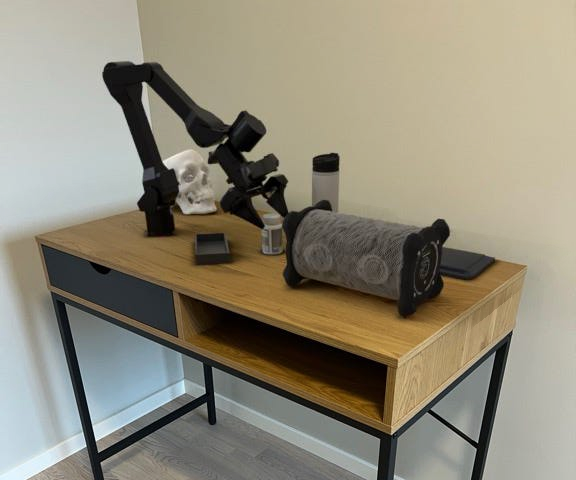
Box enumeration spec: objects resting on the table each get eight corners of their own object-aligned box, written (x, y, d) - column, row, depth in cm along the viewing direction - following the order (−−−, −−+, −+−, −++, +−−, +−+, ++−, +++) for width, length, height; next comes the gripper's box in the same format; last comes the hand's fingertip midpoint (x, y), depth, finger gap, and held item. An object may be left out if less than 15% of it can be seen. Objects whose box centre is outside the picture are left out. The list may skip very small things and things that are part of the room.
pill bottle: (283, 248, 140) (283, 212, 135) (281, 255, 136) (281, 218, 131) (263, 248, 140) (262, 212, 136) (261, 254, 136) (259, 218, 132)
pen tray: (230, 262, 131) (229, 252, 130) (196, 264, 130) (195, 254, 129) (226, 241, 145) (225, 232, 144) (195, 243, 144) (194, 233, 143)
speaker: (408, 323, 103) (417, 238, 95) (279, 288, 118) (277, 212, 110) (444, 296, 113) (455, 217, 106) (321, 267, 128) (322, 196, 121)
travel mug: (343, 241, 144) (346, 154, 134) (325, 247, 140) (327, 158, 130) (323, 236, 148) (325, 151, 138) (306, 242, 144) (306, 155, 134)
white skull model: (201, 213, 160) (172, 144, 156) (161, 236, 174) (134, 173, 170) (235, 203, 169) (209, 138, 165) (195, 226, 183) (170, 166, 180)
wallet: (383, 254, 129) (415, 237, 140) (382, 262, 130) (414, 245, 141) (470, 272, 119) (498, 253, 129) (468, 281, 120) (496, 261, 130)
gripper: (226, 148, 121) (269, 210, 121) (280, 136, 134) (320, 192, 134) (201, 183, 130) (242, 241, 129) (255, 169, 142) (293, 222, 142)
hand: (276, 223), depth 134 cm, fingers open, 9 cm apart
